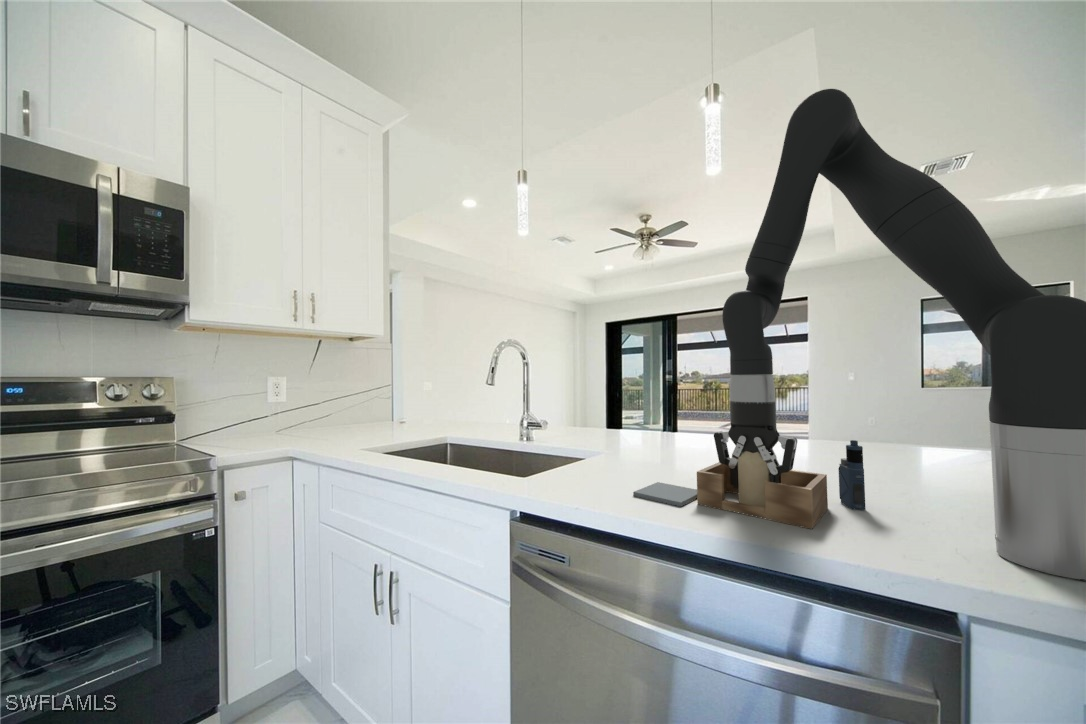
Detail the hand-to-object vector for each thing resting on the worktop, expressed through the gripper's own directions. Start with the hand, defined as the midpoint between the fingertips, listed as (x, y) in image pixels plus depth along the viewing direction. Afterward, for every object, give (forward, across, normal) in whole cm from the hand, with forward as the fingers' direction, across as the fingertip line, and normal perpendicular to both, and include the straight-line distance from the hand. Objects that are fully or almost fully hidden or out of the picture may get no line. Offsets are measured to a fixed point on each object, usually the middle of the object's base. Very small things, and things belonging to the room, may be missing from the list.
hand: (755, 490), depth 73 cm
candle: (+3, 0, 0) cm, 3 cm away
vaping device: (+3, -13, -11) cm, 17 cm away
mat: (+3, +14, +5) cm, 16 cm away
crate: (+3, -1, 0) cm, 3 cm away
